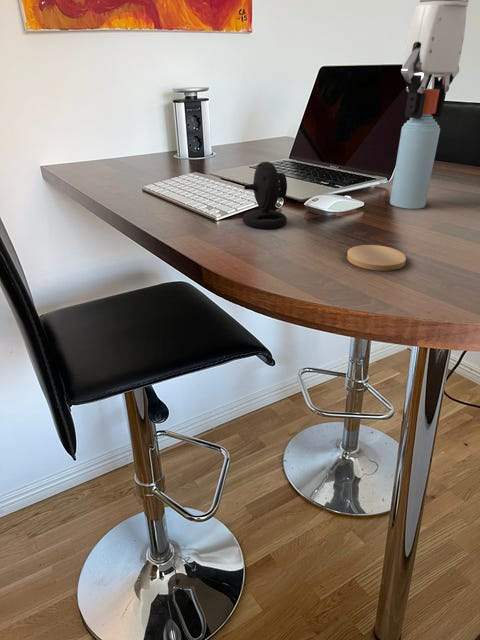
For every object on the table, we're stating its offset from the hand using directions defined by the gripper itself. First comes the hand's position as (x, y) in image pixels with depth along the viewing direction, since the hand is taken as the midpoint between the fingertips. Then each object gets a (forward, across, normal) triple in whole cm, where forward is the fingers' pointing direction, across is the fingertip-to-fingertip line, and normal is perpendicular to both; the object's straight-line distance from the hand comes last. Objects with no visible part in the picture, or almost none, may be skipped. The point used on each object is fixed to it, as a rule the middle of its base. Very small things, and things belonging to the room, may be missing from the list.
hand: (423, 115), depth 89 cm
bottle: (+16, 0, 0) cm, 16 cm away
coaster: (+16, +28, +16) cm, 36 cm away
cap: (0, 0, 0) cm, 0 cm away
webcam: (+16, +31, -6) cm, 35 cm away
